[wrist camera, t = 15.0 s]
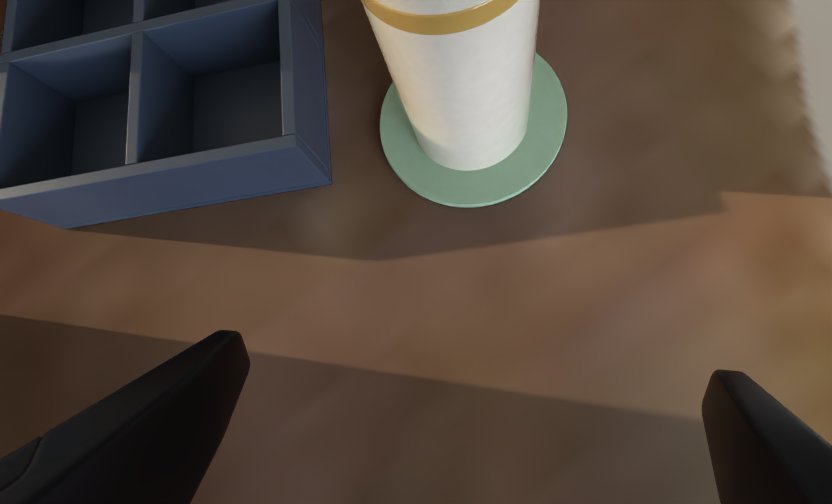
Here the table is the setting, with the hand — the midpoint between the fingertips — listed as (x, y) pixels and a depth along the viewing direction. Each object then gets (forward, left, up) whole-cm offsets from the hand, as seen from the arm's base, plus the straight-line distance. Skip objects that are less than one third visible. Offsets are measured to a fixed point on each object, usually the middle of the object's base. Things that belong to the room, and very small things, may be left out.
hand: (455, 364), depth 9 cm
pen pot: (+10, +5, -12) cm, 17 cm away
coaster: (+10, +5, -12) cm, 17 cm away
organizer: (+7, +21, -12) cm, 25 cm away
